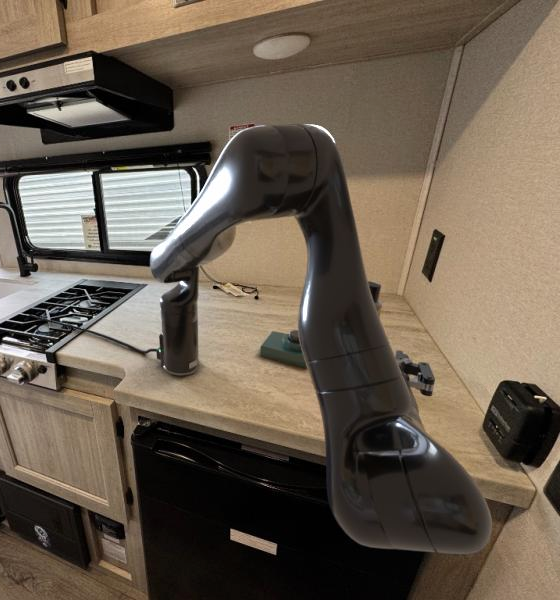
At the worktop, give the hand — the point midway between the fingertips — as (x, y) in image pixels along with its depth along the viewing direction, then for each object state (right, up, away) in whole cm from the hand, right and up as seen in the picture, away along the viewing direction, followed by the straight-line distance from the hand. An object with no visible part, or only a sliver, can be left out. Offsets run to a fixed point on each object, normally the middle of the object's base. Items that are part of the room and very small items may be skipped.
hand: (366, 351), depth 54 cm
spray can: (+19, -6, +32) cm, 37 cm away
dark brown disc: (+2, -2, +31) cm, 31 cm away
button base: (0, -6, +34) cm, 35 cm away
